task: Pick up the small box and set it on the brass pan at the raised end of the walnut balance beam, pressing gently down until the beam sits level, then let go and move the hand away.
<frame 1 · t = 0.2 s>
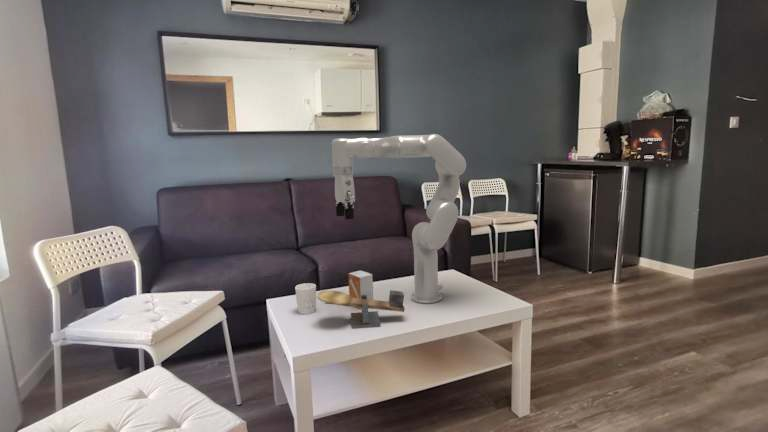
hand: (344, 217, 155), 36 cm above the table, tool pointing down, fingers open, 9 cm apart
small box: (361, 305, 164), on the table
beam stand: (365, 320, 148), on the table
beam: (361, 297, 147), point 9 cm above the table, hinge at -10.0°
white cup: (307, 311, 159), on the table
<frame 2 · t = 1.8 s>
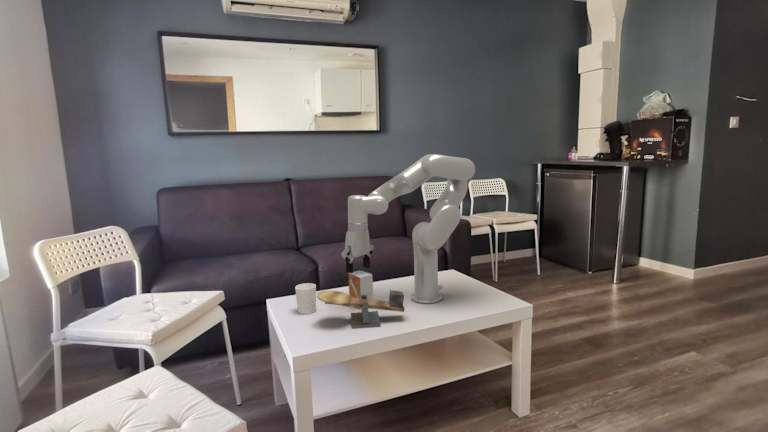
hand: (358, 269, 162), 14 cm above the table, tool pointing down, fingers open, 9 cm apart
nothing on the table moved.
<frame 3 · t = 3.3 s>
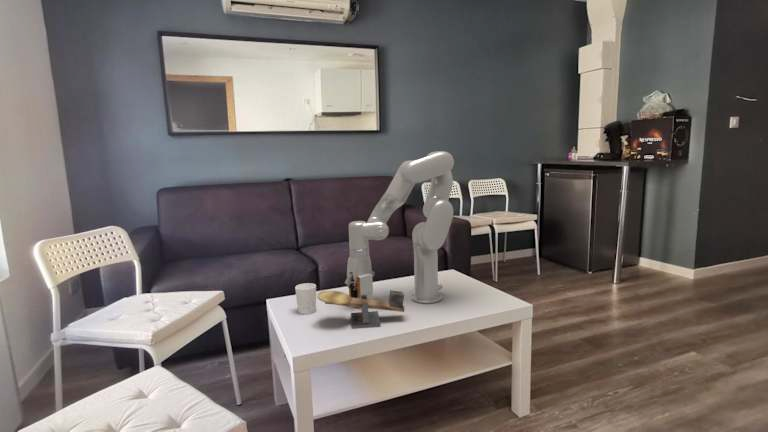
hand: (360, 296, 163), 4 cm above the table, tool pointing down, fingers closed on small box, 7 cm apart
small box: (361, 305, 164), on the table, touching gripper
everything else where it was.
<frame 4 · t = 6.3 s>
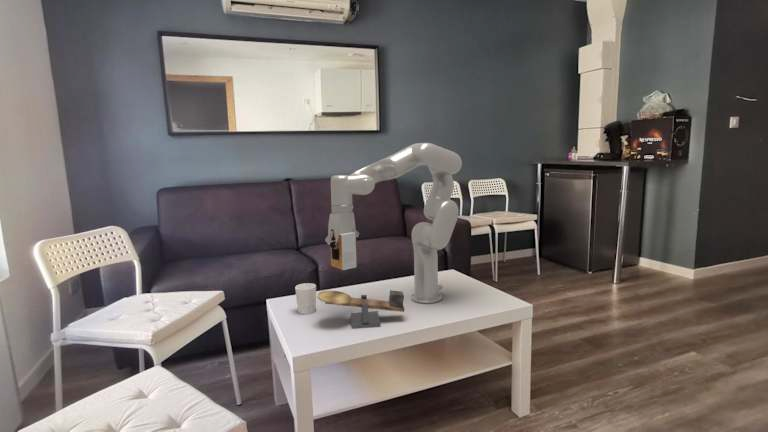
hand: (343, 257, 151), 22 cm above the table, tool pointing down, fingers closed on small box, 7 cm apart
small box: (343, 267, 152), point 18 cm above the table, touching gripper
everything else where it was.
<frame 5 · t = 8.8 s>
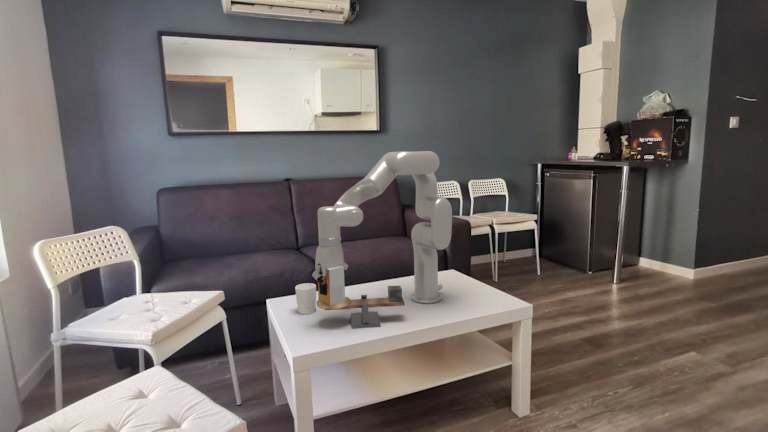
hand: (331, 291, 145), 12 cm above the table, tool pointing down, fingers closed on small box, 7 cm apart
small box: (331, 301, 146), point 8 cm above the table, touching beam, gripper
beam: (360, 298, 147), point 9 cm above the table, hinge at -0.2°, touching small box
everything else where it was.
when the fingers open (12 cm above the table, at t = 9.7 s): small box stays where it is, resting on beam.
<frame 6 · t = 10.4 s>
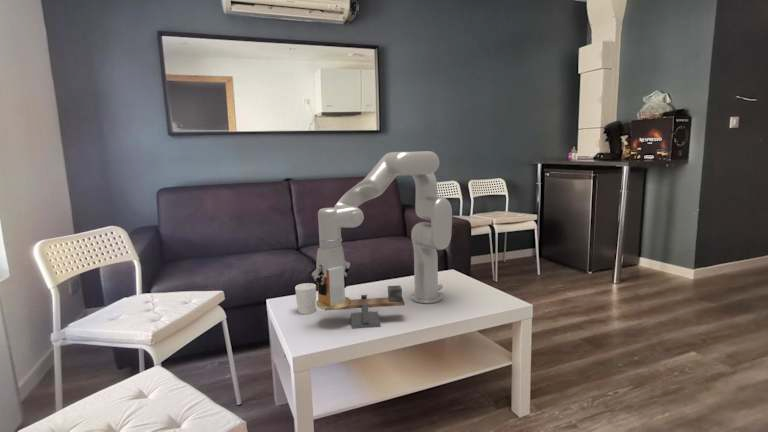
hand: (332, 290, 145), 12 cm above the table, tool pointing down, fingers open, 9 cm apart
small box: (331, 302, 146), point 8 cm above the table, touching beam
everything else where it was.
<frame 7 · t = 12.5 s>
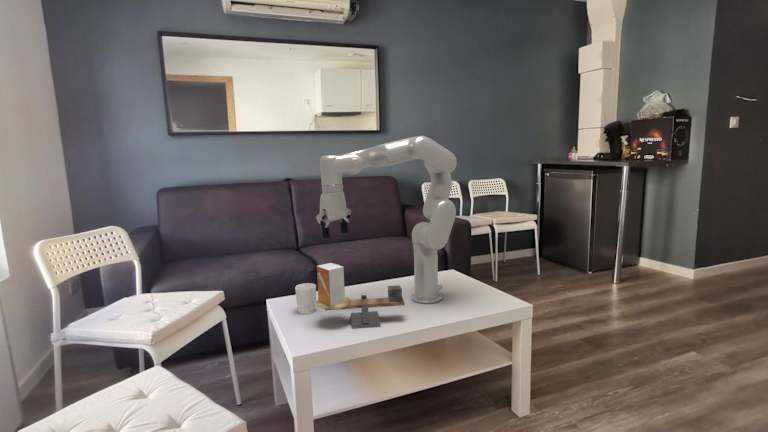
hand: (335, 235, 153), 30 cm above the table, tool pointing down, fingers open, 9 cm apart
nothing on the table moved.
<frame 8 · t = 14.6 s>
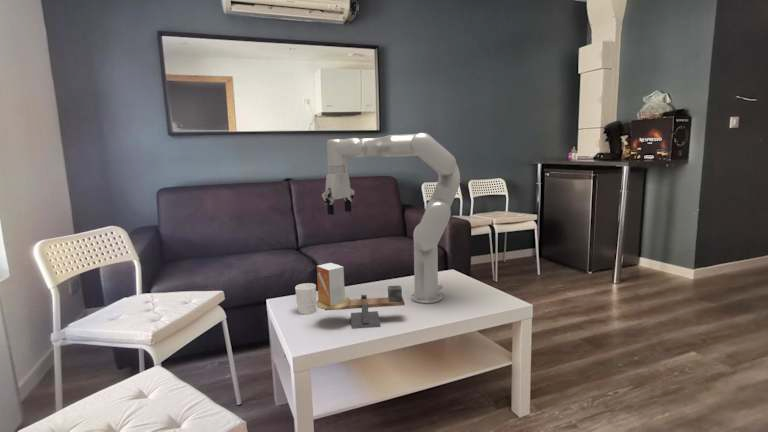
hand: (339, 212, 166), 36 cm above the table, tool pointing down, fingers open, 9 cm apart
nothing on the table moved.
at the end: beam at +0° (first picture: -10°); small box 0.7 cm from the target spot on the beam, point 1.8 cm above the beam's base; small box tilted 0° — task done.
